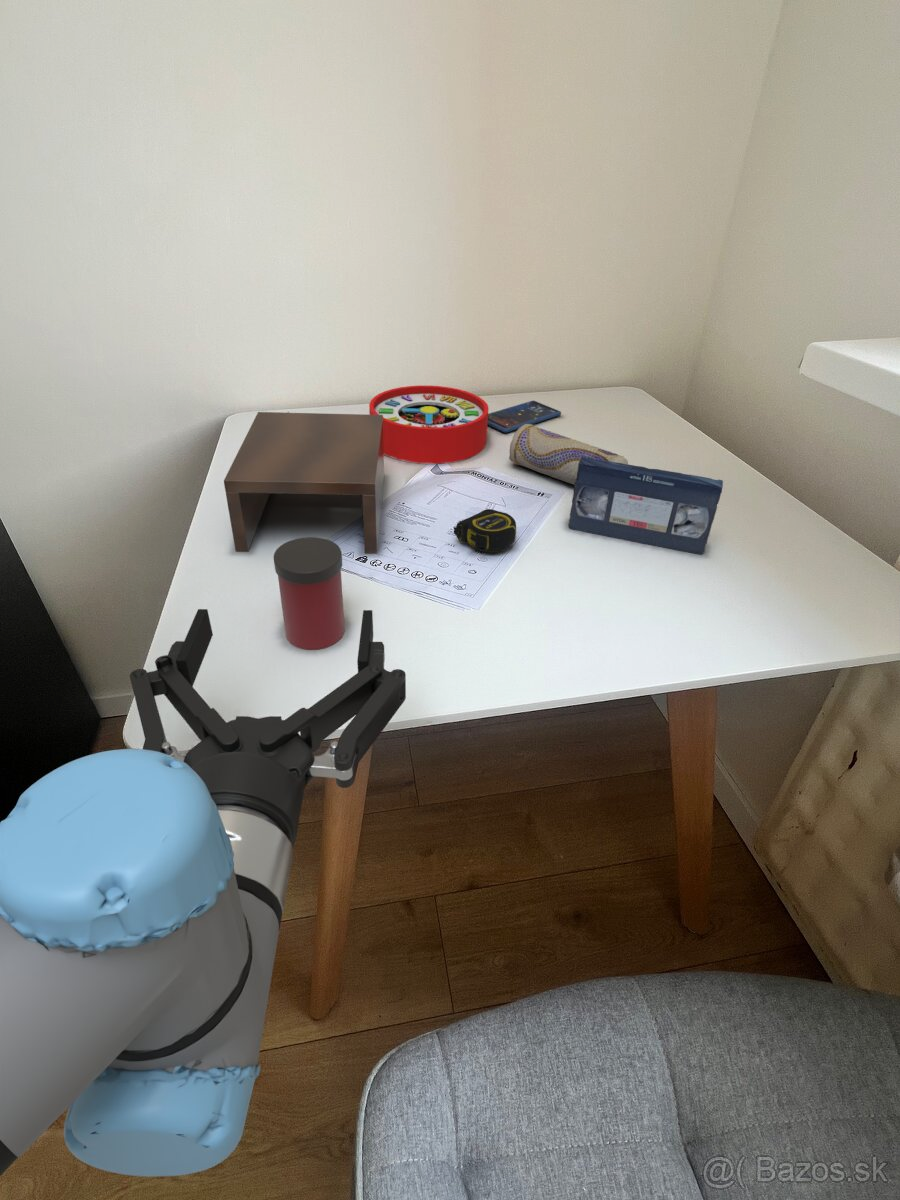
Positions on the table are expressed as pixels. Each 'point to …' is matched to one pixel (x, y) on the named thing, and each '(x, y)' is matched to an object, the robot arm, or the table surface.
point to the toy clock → (431, 423)
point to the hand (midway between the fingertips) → (287, 622)
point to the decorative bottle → (554, 453)
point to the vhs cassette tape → (644, 504)
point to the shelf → (306, 466)
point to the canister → (311, 591)
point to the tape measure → (487, 531)
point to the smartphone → (520, 416)
